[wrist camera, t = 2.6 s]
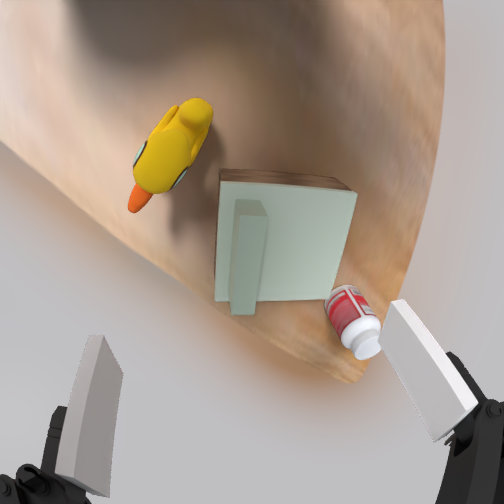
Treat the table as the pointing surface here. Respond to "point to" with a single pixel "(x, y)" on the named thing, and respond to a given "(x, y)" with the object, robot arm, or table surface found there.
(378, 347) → the pill bottle
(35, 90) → the table surface
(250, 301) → the lid
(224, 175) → the box
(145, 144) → the duckling
